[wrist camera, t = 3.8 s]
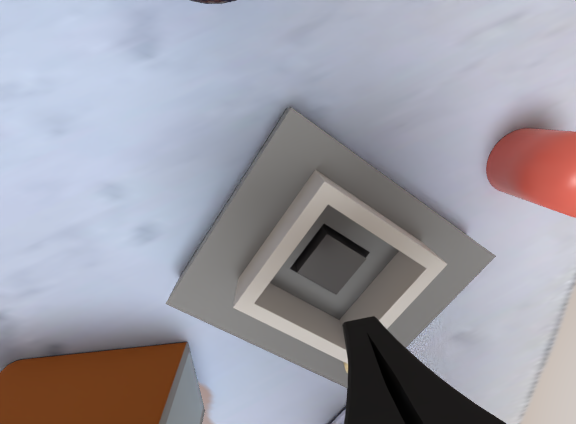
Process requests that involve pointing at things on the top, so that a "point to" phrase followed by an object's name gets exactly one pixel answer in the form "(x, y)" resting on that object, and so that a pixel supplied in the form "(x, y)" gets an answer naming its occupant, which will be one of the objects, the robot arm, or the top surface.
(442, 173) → the top surface
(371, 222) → the grey square socket base
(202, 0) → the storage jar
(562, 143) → the cap
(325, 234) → the button
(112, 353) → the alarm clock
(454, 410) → the robot arm
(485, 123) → the top surface
